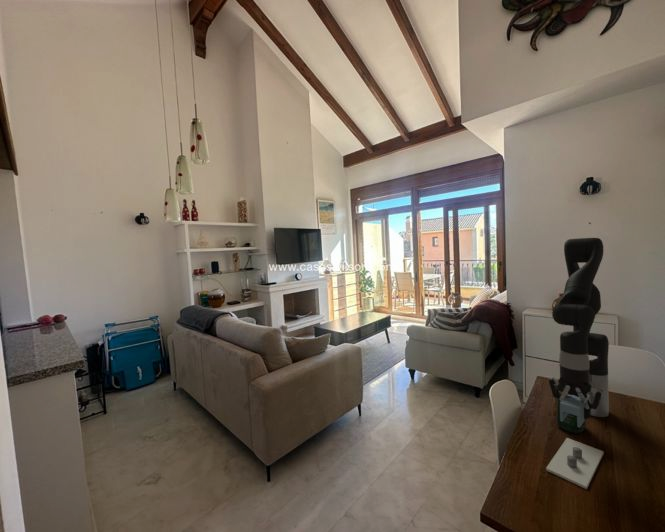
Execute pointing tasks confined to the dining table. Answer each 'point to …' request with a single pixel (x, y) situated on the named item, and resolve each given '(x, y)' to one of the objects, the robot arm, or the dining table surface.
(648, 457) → the dining table surface
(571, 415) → the coffee jar
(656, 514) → the dining table surface
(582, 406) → the block
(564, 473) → the board
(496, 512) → the dining table surface
